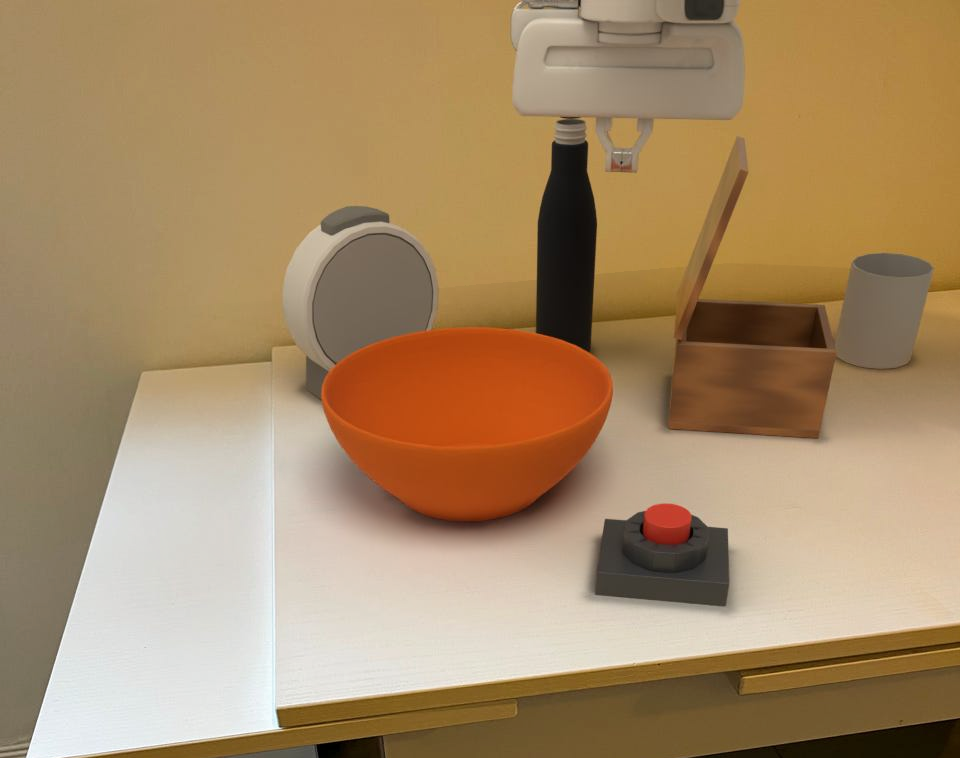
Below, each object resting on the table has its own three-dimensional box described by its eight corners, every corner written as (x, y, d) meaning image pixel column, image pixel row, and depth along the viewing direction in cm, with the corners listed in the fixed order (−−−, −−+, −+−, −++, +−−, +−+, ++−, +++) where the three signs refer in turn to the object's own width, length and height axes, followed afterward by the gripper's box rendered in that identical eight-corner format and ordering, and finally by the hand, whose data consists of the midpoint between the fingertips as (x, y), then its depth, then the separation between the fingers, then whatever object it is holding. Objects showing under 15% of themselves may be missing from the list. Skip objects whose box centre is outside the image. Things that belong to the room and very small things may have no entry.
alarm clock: (407, 352, 116) (396, 185, 105) (456, 380, 110) (450, 206, 98) (282, 387, 109) (257, 212, 98) (327, 420, 102) (305, 237, 91)
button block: (724, 550, 82) (731, 508, 80) (725, 607, 76) (732, 563, 73) (603, 540, 84) (606, 499, 81) (594, 595, 77) (597, 552, 75)
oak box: (808, 385, 107) (824, 304, 102) (818, 438, 97) (836, 352, 92) (671, 377, 109) (680, 298, 104) (668, 428, 100) (677, 344, 94)
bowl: (305, 449, 98) (291, 351, 91) (539, 405, 104) (541, 311, 98) (377, 584, 79) (366, 473, 73) (656, 521, 86) (667, 414, 80)
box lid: (744, 138, 94) (736, 135, 94) (749, 171, 84) (740, 168, 84) (684, 294, 104) (677, 292, 104) (681, 340, 94) (673, 338, 94)
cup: (899, 374, 109) (923, 282, 103) (824, 360, 112) (843, 270, 106) (917, 348, 114) (940, 259, 108) (845, 335, 118) (864, 248, 112)
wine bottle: (524, 352, 116) (526, 56, 97) (560, 336, 119) (569, 48, 101) (565, 367, 112) (576, 63, 93) (601, 350, 116) (619, 54, 97)
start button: (689, 524, 79) (692, 504, 78) (688, 548, 76) (691, 529, 75) (643, 520, 79) (645, 501, 78) (641, 544, 76) (643, 525, 75)
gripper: (504, -3, 82) (504, 176, 91) (758, -3, 79) (733, 183, 88) (516, -12, 87) (515, 159, 96) (755, -11, 84) (732, 165, 92)
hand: (621, 171), depth 92 cm, fingers closed
